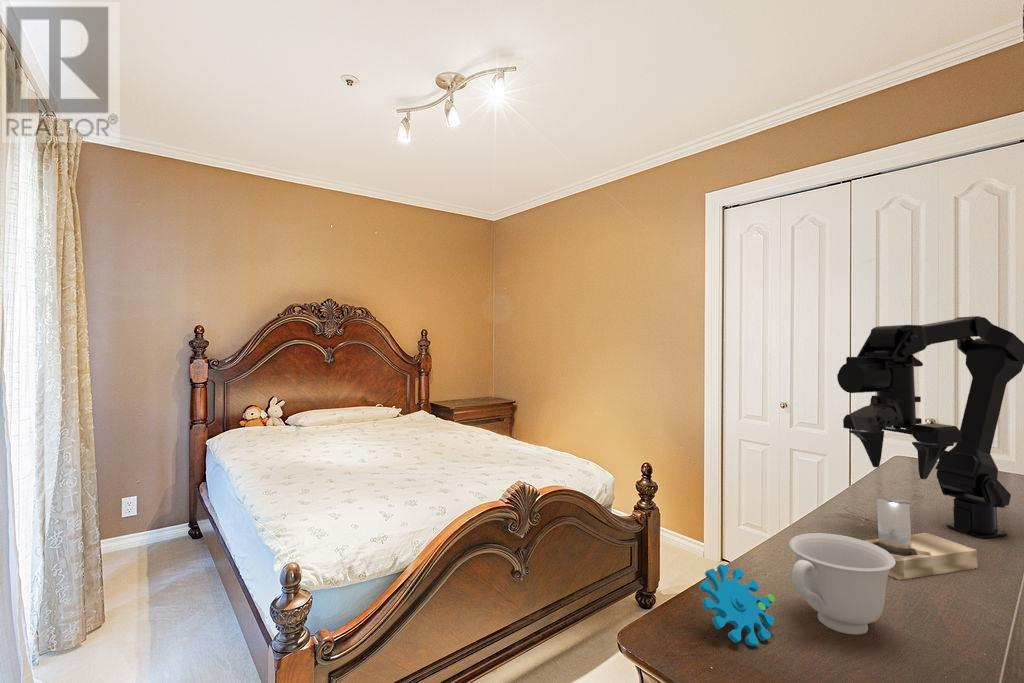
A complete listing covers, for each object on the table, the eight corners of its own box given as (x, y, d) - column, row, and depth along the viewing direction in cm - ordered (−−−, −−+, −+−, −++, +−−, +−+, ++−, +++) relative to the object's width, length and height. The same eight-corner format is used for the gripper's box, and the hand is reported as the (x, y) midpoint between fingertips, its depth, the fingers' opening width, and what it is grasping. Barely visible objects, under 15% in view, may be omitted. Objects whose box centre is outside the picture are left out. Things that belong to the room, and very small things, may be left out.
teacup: (757, 616, 68) (755, 545, 68) (827, 592, 74) (825, 527, 74) (845, 667, 57) (842, 582, 57) (919, 634, 63) (916, 557, 63)
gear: (723, 644, 59) (694, 561, 67) (699, 658, 63) (674, 578, 70) (798, 642, 62) (762, 562, 69) (770, 655, 66) (739, 579, 73)
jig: (927, 548, 88) (926, 532, 88) (977, 568, 80) (976, 550, 80) (854, 558, 85) (853, 541, 85) (898, 579, 77) (897, 561, 77)
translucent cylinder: (885, 558, 85) (882, 495, 85) (916, 567, 81) (913, 501, 82) (875, 565, 83) (872, 500, 83) (907, 574, 79) (904, 507, 79)
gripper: (819, 388, 100) (822, 464, 100) (910, 397, 82) (913, 490, 81) (864, 386, 102) (867, 460, 102) (962, 394, 84) (966, 484, 84)
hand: (898, 472), depth 92 cm, fingers open, 9 cm apart
